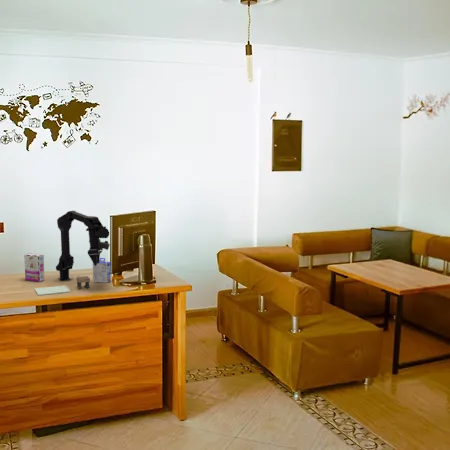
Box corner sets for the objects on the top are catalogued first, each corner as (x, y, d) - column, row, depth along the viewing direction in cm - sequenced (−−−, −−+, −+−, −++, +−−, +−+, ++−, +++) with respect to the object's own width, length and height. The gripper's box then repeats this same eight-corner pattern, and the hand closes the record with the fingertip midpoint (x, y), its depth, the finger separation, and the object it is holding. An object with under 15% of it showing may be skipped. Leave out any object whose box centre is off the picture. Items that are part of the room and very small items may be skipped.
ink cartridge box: (111, 280, 367) (110, 258, 364) (107, 283, 361) (107, 259, 359) (96, 279, 369) (96, 257, 366) (92, 282, 363) (92, 259, 361)
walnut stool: (76, 286, 351) (76, 277, 350) (87, 285, 354) (87, 276, 353) (79, 289, 346) (78, 279, 345) (90, 288, 349) (89, 278, 348)
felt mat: (34, 289, 344) (34, 288, 344) (65, 286, 352) (65, 285, 352) (38, 295, 332) (38, 294, 332) (70, 292, 340) (70, 291, 340)
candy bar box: (44, 280, 365) (44, 254, 363) (39, 282, 361) (38, 256, 358) (30, 278, 370) (29, 252, 367) (24, 280, 365) (23, 254, 362)
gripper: (105, 238, 339) (108, 265, 340) (109, 235, 358) (112, 260, 359) (86, 240, 338) (89, 267, 340) (91, 237, 357) (94, 262, 358)
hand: (96, 264), depth 349 cm, fingers open, 9 cm apart
